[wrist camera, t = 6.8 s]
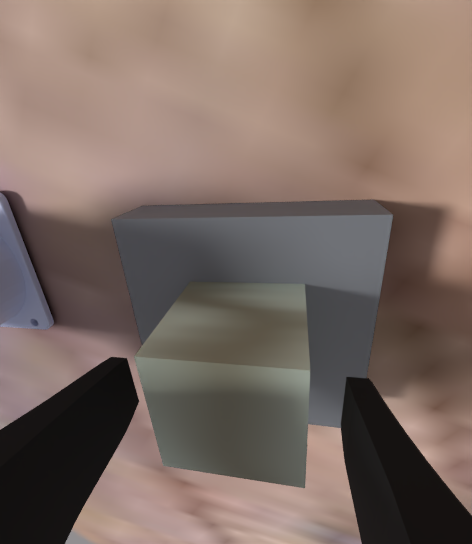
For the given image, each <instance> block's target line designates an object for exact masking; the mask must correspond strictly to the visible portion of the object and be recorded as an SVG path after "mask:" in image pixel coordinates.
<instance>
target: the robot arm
mask: <svg viewBox="0 0 472 544" xmlns="http://www.w3.org/2000/svg"><path fill="white" fill-rule="evenodd" d="M53 324H54V321H53V317H52V315H51V312H50V310H49V307H48V304H47V302H46V299H45V297H44V294H43V291H42V289H41V286H40V284H39V281H38V278H37V276H36V273H35V271H34V268H33V265H32V263H31V260H30V258H29V255H28V252H27V250H26V247H25V245H24V242H23V239H22V237H21V234H20V232H19V229H18V226H17V224H16V221H15V219H14V216H13V213H12V211H11V208H10V206H9V203H8V200H7V199H6V197H5V196H4V195H3V194H2V193H0V327H15V328H30V329H48V328H50V327H51V326H52V325H53ZM138 403H139V400H138V396H137V393H136V389H135V386H134V382H133V378H132V375H131V371H130V368H129V364H128V360H127V358H117V357H110V358H109V359H107V360H106V361H104V362H102V363H101V364H99V365H98V366H96V367H95V368H93V369H92V370H90V371H89V372H87V373H86V374H84V375H83V376H82V377H80V378H79V379H77V380H76V381H74V382H73V383H71V384H70V385H68V386H67V387H65V388H64V389H62V390H61V391H60V392H58V393H57V394H55V395H54V396H52V397H51V398H49V399H48V400H46V401H45V402H43V403H42V404H40V405H39V406H37V407H35V408H34V409H32V410H31V411H29V412H28V413H26V414H24V415H23V416H21V417H20V418H18V419H17V420H15V421H14V422H12V423H10V424H9V425H7V426H6V427H4V428H2V429H1V430H0V544H65V542H66V540H67V538H68V536H69V534H70V532H71V530H72V528H73V525H74V523H75V521H76V520H77V518H78V516H79V514H80V512H81V510H82V508H83V506H84V505H85V503H86V501H87V499H88V498H89V496H90V494H91V492H92V491H93V489H94V487H95V485H96V484H97V482H98V480H99V478H100V477H101V475H102V473H103V472H104V470H105V468H106V466H107V465H108V463H109V461H110V459H111V458H112V456H113V454H114V452H115V451H116V449H117V447H118V445H119V444H120V442H121V440H122V438H123V436H124V435H125V433H126V431H127V429H128V426H129V424H130V422H131V420H132V417H133V415H134V412H135V410H136V407H137V405H138ZM341 433H342V442H343V451H344V459H345V465H346V470H347V475H348V480H349V485H350V489H351V494H352V499H353V504H354V508H355V513H356V518H357V522H358V527H359V532H360V537H361V541H362V544H472V515H471V514H470V513H469V512H468V511H467V509H466V508H465V507H464V506H463V505H462V503H461V502H460V501H459V500H458V499H457V498H456V496H455V495H454V494H453V493H452V491H451V490H450V489H449V488H448V486H447V485H446V484H445V483H444V482H443V480H442V479H441V478H440V477H439V475H438V474H437V473H436V472H435V470H434V469H433V468H432V466H431V465H430V464H429V463H428V461H427V460H426V459H425V457H424V456H423V455H422V453H421V452H420V451H419V449H418V448H417V447H416V445H415V444H414V443H413V441H412V440H411V439H410V437H409V436H408V435H407V433H406V432H405V430H404V429H403V428H402V426H401V425H400V423H399V422H398V421H397V419H396V418H395V416H394V415H393V413H392V412H391V411H390V409H389V408H388V406H387V405H386V403H385V402H384V400H383V399H382V397H381V396H380V394H379V392H378V391H377V389H376V388H375V386H374V384H373V383H372V382H371V381H370V380H369V378H357V377H346V385H345V393H344V401H343V409H342V418H341Z"/></svg>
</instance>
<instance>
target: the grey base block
mask: <svg viewBox="0 0 472 544" xmlns="http://www.w3.org/2000/svg"><path fill="white" fill-rule="evenodd" d="M392 219H393V214H392V213H391V212H389V211H388V210H387V209H385V208H384V207H383V206H382V205H380V204H379V203H378V202H376V201H375V200H340V201H303V202H265V203H228V204H190V205H153V206H141V207H138V208H136V209H134V210H131V211H129V212H127V213H125V214H122V215H120V216H118V217H115V218H113V219H111V221H112V225H113V229H114V233H115V237H116V241H117V245H118V249H119V253H120V257H121V262H122V266H123V270H124V274H125V278H126V282H127V286H128V290H129V294H130V298H131V302H132V307H133V311H134V315H135V319H136V323H137V327H138V331H139V335H140V339H141V343H142V345H143V344H144V343H145V341H146V340H147V339H148V337H149V336H150V335H151V333H152V332H153V331H154V329H155V328H156V327H157V325H158V324H159V323H160V321H161V320H162V319H163V317H164V316H165V315H166V313H167V312H168V311H169V309H170V308H171V306H172V305H173V304H174V302H175V301H176V300H177V298H178V297H179V296H180V294H181V293H182V292H183V290H184V289H185V288H186V286H187V285H188V284H189V282H235V283H282V284H305V294H306V310H307V326H308V341H309V357H310V389H309V411H308V424H312V425H321V426H329V427H337V428H341V418H342V409H343V401H344V393H345V385H346V377H357V378H367V372H368V365H369V359H370V353H371V347H372V341H373V335H374V329H375V323H376V317H377V311H378V305H379V298H380V292H381V286H382V280H383V274H384V268H385V262H386V256H387V250H388V244H389V238H390V231H391V225H392Z"/></svg>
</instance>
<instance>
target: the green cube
mask: <svg viewBox="0 0 472 544" xmlns="http://www.w3.org/2000/svg"><path fill="white" fill-rule="evenodd" d="M134 358H135V362H136V366H137V370H138V373H139V377H140V381H141V384H142V388H143V392H144V396H145V399H146V403H147V407H148V410H149V414H150V418H151V422H152V425H153V429H154V433H155V436H156V440H157V444H158V447H159V451H160V455H161V459H162V462H163V466H168V467H174V468H181V469H187V470H193V471H200V472H206V473H212V474H219V475H225V476H231V477H238V478H244V479H250V480H257V481H263V482H269V483H275V484H282V485H288V486H294V487H301V488H305V477H306V455H307V433H308V411H309V389H310V357H309V341H308V326H307V310H306V294H305V284H282V283H235V282H189V284H188V285H187V286H186V288H185V289H184V290H183V292H182V293H181V294H180V296H179V297H178V298H177V300H176V301H175V302H174V304H173V305H172V306H171V308H170V309H169V311H168V312H167V313H166V315H165V316H164V317H163V319H162V320H161V321H160V323H159V324H158V325H157V327H156V328H155V329H154V331H153V332H152V333H151V335H150V336H149V337H148V339H147V340H146V341H145V343H144V344H143V345H142V347H141V348H140V349H139V351H138V352H137V353H136V355H135V356H134Z"/></svg>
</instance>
